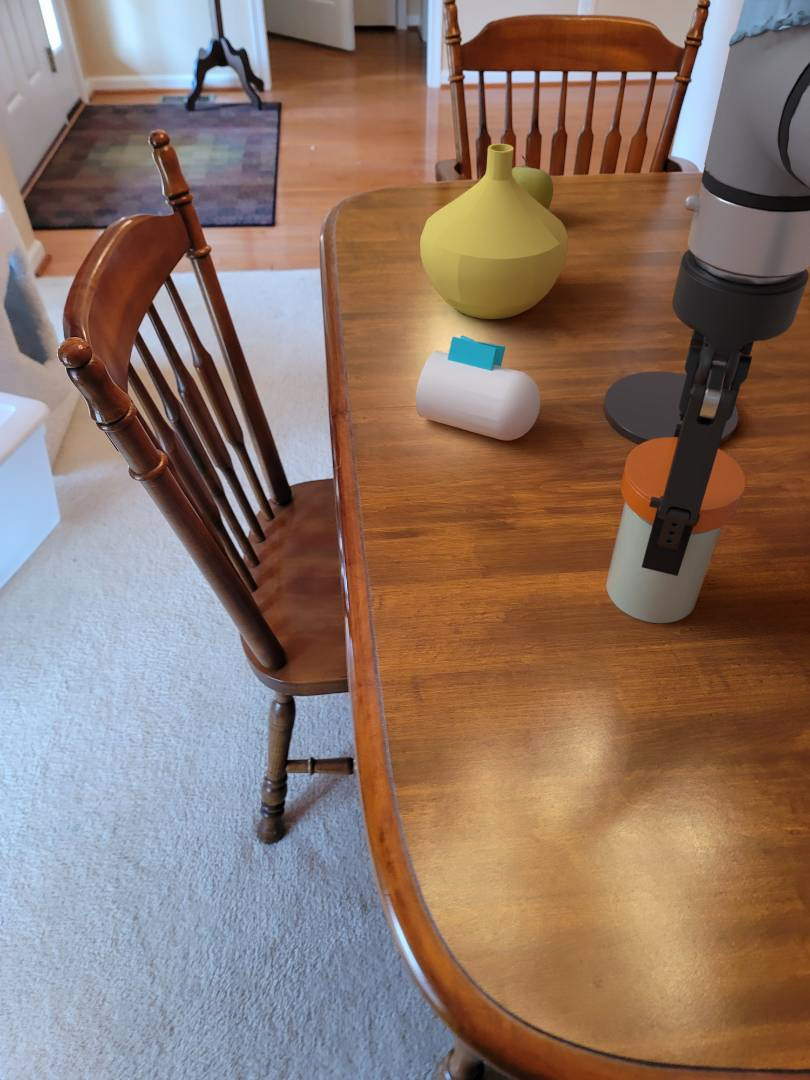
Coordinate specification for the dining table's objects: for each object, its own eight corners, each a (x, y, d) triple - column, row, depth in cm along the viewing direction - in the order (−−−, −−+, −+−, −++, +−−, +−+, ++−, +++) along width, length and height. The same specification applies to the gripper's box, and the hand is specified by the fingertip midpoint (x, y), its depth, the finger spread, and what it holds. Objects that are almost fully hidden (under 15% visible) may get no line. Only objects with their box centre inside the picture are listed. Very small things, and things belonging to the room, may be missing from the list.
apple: (522, 233, 122) (516, 159, 117) (493, 230, 128) (487, 159, 124) (566, 223, 125) (563, 150, 120) (536, 220, 131) (531, 151, 127)
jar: (702, 572, 73) (739, 464, 65) (689, 634, 68) (727, 525, 60) (616, 549, 75) (641, 442, 67) (597, 607, 70) (621, 499, 62)
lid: (745, 476, 66) (753, 453, 64) (727, 546, 60) (736, 523, 58) (635, 449, 68) (640, 426, 67) (608, 513, 63) (613, 490, 61)
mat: (742, 394, 93) (745, 386, 92) (727, 466, 84) (730, 458, 83) (618, 368, 97) (619, 361, 96) (590, 435, 88) (591, 427, 87)
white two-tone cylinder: (540, 362, 79) (426, 334, 83) (519, 453, 83) (410, 422, 86) (570, 352, 89) (467, 327, 93) (550, 433, 93) (451, 406, 97)
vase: (553, 270, 115) (571, 122, 102) (567, 337, 102) (591, 178, 89) (420, 269, 116) (422, 121, 103) (418, 336, 103) (419, 176, 89)
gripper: (702, 187, 59) (641, 443, 75) (660, 330, 45) (595, 611, 60) (814, 201, 57) (728, 460, 73) (808, 355, 43) (702, 639, 58)
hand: (668, 528), depth 67 cm, fingers closed on lid, 9 cm apart
